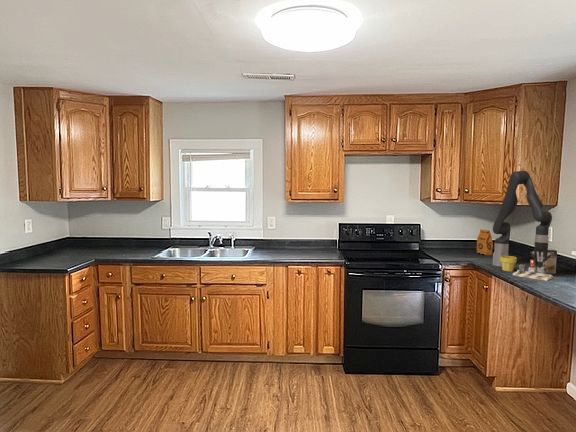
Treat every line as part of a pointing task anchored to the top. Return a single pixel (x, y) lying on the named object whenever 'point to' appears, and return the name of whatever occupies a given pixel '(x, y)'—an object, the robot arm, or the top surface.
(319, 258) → the top surface
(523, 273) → the beige wooden board
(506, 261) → the plant pot
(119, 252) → the top surface
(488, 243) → the coffee package
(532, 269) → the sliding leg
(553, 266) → the coffee box
